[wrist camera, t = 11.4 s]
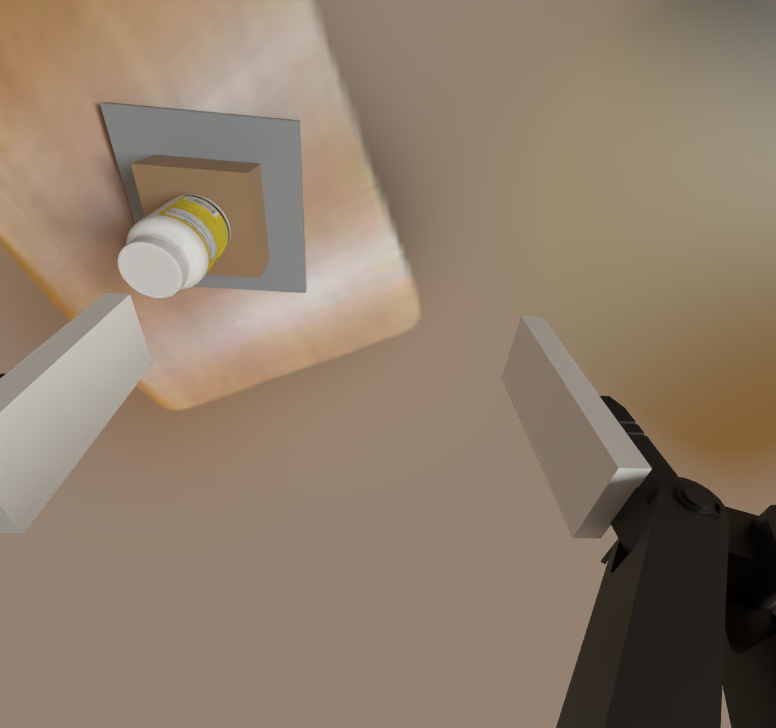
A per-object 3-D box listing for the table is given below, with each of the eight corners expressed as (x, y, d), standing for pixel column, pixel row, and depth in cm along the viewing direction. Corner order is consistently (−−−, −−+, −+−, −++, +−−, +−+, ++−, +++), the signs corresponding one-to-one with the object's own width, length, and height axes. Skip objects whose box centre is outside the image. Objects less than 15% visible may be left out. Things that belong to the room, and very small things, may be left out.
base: (106, 102, 33) (65, 106, 28) (299, 120, 34) (289, 127, 30) (156, 279, 42) (131, 303, 38) (306, 288, 44) (299, 312, 39)
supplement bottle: (184, 260, 36) (131, 312, 28) (154, 198, 32) (85, 237, 24) (242, 251, 35) (205, 301, 27) (217, 187, 32) (168, 223, 24)
